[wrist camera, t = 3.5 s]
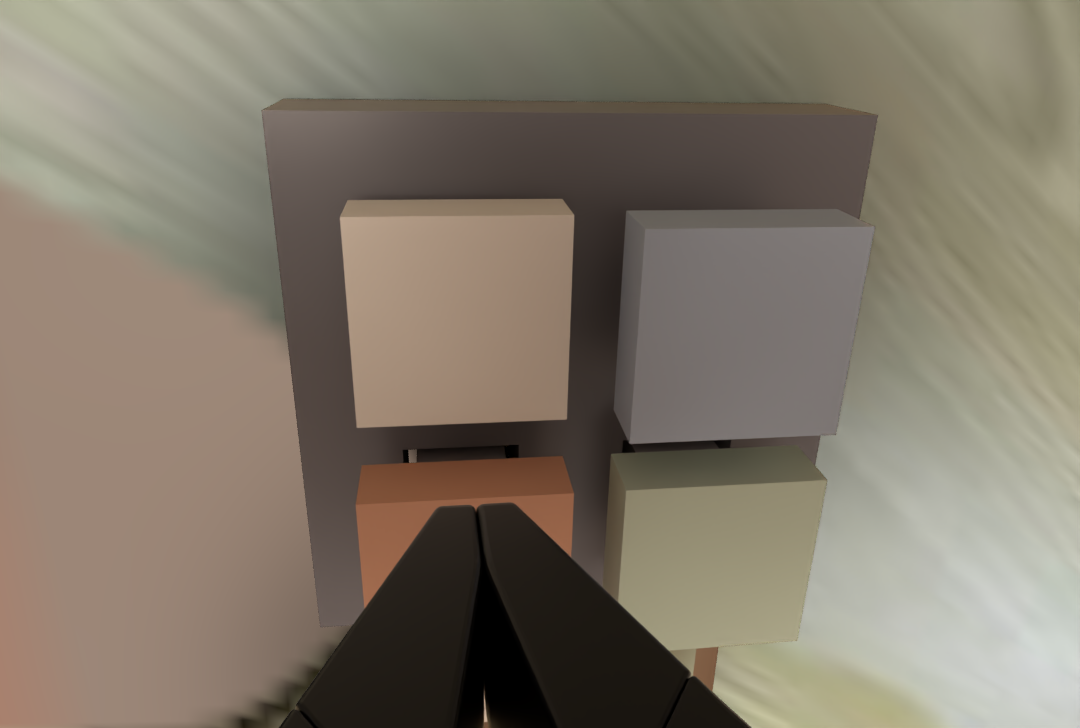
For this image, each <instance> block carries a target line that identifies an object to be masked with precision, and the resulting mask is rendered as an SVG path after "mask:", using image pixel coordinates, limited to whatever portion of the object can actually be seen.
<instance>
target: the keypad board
mask: <svg viewBox="0 0 1080 728" xmlns="http://www.w3.org/2000/svg"><path fill="white" fill-rule="evenodd" d="M262 118H263V127H264V136H265V145H266V154H267V162H268V171H269V180H270V189H271V198H272V206H273V215H274V224H275V233H276V242H277V251H278V259H279V268H280V277H281V286H282V295H283V303H284V312H285V321H286V330H287V339H288V347H289V356H290V365H291V374H292V383H293V392H294V400H295V408H296V418H297V427H298V434H299V435H298V436H299V444H300V452H301V462H302V471H303V479H304V488H305V497H306V506H307V515H308V524H309V532H310V541H311V549H312V559H313V568H314V577H315V585H316V594H317V603H318V612H319V621H320V627H332V626H346V625H353V624H354V623H355V621H356V620H357V618H358V617H359V616H360V614H361V613H362V611H363V610H364V598H363V586H362V574H361V562H360V551H359V539H358V527H357V515H356V499H357V493H358V486H359V480H360V473H361V467H362V465H377V464H399V463H409V456H408V450H410V449H433V448H456V447H478V446H501V445H509V458H529V457H551V456H563V459H564V462H565V465H566V469H567V472H568V475H569V479H570V482H571V485H572V489H573V492H574V503H573V527H572V550H571V557H572V558H573V559H574V560H575V561H576V562H577V563H578V564H579V565H580V566H581V567H582V568H583V569H584V570H585V571H586V572H587V573H588V574H589V575H590V576H591V577H592V578H593V579H595V580H596V581H597V582H598V583H599V584H600V585H601V586H602V587H603V572H604V556H605V540H606V525H607V509H608V493H609V477H610V461H611V454H616V453H622V447H623V440H628V439H627V437H626V435H625V433H624V431H623V429H622V427H621V424H620V422H619V420H618V418H617V416H616V414H615V412H614V397H615V381H616V365H617V349H618V333H619V318H620V302H621V286H622V270H623V254H624V238H625V222H626V211H632V210H761V209H838V210H840V211H842V212H845V213H847V214H849V215H851V216H853V217H855V218H858V219H859V218H860V212H861V207H862V201H863V196H864V190H865V185H866V179H867V174H868V168H869V162H870V157H871V151H872V146H873V140H874V135H875V129H876V123H877V118H878V115H876V114H871V113H866V112H861V111H856V110H852V109H847V108H842V107H837V106H833V105H828V104H796V103H690V102H583V101H477V100H371V99H282V100H280V101H278V102H277V103H275V104H273V105H271V106H269V107H267V108H265V109H263V110H262ZM433 199H563V200H564V202H565V203H566V204H567V206H568V207H569V209H570V210H571V211H572V213H573V214H574V238H573V265H572V292H571V319H570V346H569V373H568V400H567V419H566V420H541V421H517V422H492V423H467V424H442V425H417V426H393V427H368V428H357V425H356V413H355V400H354V388H353V375H352V363H351V350H350V338H349V325H348V313H347V301H346V288H345V276H344V263H343V251H342V238H341V226H340V216H341V213H342V211H343V209H344V207H345V205H346V203H347V201H348V200H433ZM819 440H820V435H819V436H797V437H774V438H752V439H730V440H714V442H715V443H716V445H717V446H718V448H719V449H725V448H747V447H768V446H790V445H797V446H798V447H799V448H800V449H801V450H802V451H803V453H804V454H805V455H806V456H807V457H808V458H809V460H810V461H811V462H812V463H813V464H814V465H815V463H816V457H817V452H818V446H819Z"/></svg>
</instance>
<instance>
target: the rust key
mask: <svg viewBox="0 0 1080 728" xmlns="http://www.w3.org/2000/svg"><path fill="white" fill-rule="evenodd" d="M506 502H511V503H514V504H516V505H517V506H518V507H519V508H520V509H521V510H522V511H523V512H524V513H526V514H527V515H528V516H529V517H530V518H531V519H532V520H533V521H534V522H535V523H536V524H537V525H538V526H539V527H540V528H541V529H542V530H543V531H544V532H545V533H546V534H547V535H549V536H550V537H551V538H552V539H553V540H554V541H555V542H556V543H557V544H558V545H559V546H560V547H561V548H562V549H563V550H564V551H565V552H566V553H567V554H568V555H569V556H570V557H571V550H572V527H573V503H574V492H573V489H572V485H571V482H570V479H569V475H568V472H567V469H566V465H565V462H564V459H563V456H551V457H529V458H508V459H506V455H505V449H504V445H501V446H478V447H456V448H433V449H417V463H399V464H377V465H362V467H361V473H360V480H359V486H358V493H357V499H356V515H357V527H358V539H359V551H360V562H361V574H362V586H363V598H364V609H365V607H366V606H367V604H368V603H369V602H370V600H371V599H372V597H373V596H374V595H375V593H376V592H377V590H378V589H379V588H380V586H381V585H382V583H383V582H384V581H385V579H386V578H387V576H388V575H389V574H390V572H391V571H392V569H393V568H394V567H395V565H396V564H397V562H398V561H399V560H400V558H401V557H402V555H403V554H404V553H405V551H406V550H407V549H408V547H409V546H410V544H411V543H412V542H413V540H414V539H415V537H416V536H417V535H418V533H419V532H420V530H421V529H422V528H423V526H424V525H425V523H426V522H427V521H428V519H429V518H430V516H431V515H432V513H433V512H434V511H435V509H436V508H438V507H440V506H452V505H472V506H473V507H474V508H475V509H476V510H477V507H478V506H479V505H481V504H489V503H506Z"/></svg>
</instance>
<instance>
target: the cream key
mask: <svg viewBox="0 0 1080 728" xmlns="http://www.w3.org/2000/svg"><path fill="white" fill-rule="evenodd" d="M340 226H341V238H342V251H343V263H344V276H345V288H346V301H347V313H348V325H349V338H350V350H351V363H352V375H353V388H354V400H355V413H356V425H357V428H368V427H393V426H417V425H442V424H467V423H492V422H517V421H541V420H566V419H567V400H568V373H569V346H570V319H571V292H572V265H573V238H574V214H573V213H572V211H571V210H570V209H569V207H568V206H567V204H566V203H565V202H564V200H563V199H433V200H348V201H347V203H346V205H345V207H344V209H343V211H342V213H341V216H340Z"/></svg>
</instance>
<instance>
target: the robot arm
mask: <svg viewBox="0 0 1080 728" xmlns="http://www.w3.org/2000/svg"><path fill="white" fill-rule="evenodd" d="M484 696H485V706H486V716H487V722H488V728H751V727H750V726H749V725H748V724H747V723H746V722H745V721H744V720H743V719H741V718H740V717H739V716H738V715H737V714H736V713H735V712H734V711H733V710H731V709H730V708H729V707H728V706H727V705H726V704H725V703H724V702H723V701H722V700H720V699H719V698H718V697H717V696H716V695H715V694H714V693H713V692H712V691H711V690H710V689H709V688H708V687H707V686H706V685H705V684H704V683H703V682H702V681H701V680H700V679H698V678H697V677H696V676H692V677H691V672H690V670H689V669H688V668H687V667H685V666H684V665H683V664H682V663H681V662H680V661H679V660H678V659H677V658H676V657H675V656H674V655H673V654H672V653H671V652H670V651H669V650H668V649H667V648H666V647H665V646H664V645H662V644H661V643H660V642H659V641H658V640H657V639H656V638H655V637H654V636H653V635H652V634H651V633H650V632H649V631H648V630H647V629H646V628H645V627H644V626H643V625H642V624H641V623H639V622H638V621H637V620H636V619H635V618H634V617H633V616H632V615H631V614H630V613H629V612H628V611H627V610H626V609H625V608H624V607H623V606H622V605H621V604H620V603H619V602H618V601H616V600H615V599H614V598H613V597H612V596H611V595H610V594H609V593H608V592H607V591H606V590H605V589H604V588H603V587H602V586H601V585H600V584H599V583H598V582H597V581H596V580H595V579H593V578H592V577H591V576H590V575H589V574H588V573H587V572H586V571H585V570H584V569H583V568H582V567H581V566H580V565H579V564H578V563H577V562H576V561H575V560H574V559H573V558H572V557H570V556H569V555H568V554H567V553H566V552H565V551H564V550H563V549H562V548H561V547H560V546H559V545H558V544H557V543H556V542H555V541H554V540H553V539H552V538H551V537H550V536H549V535H547V534H546V533H545V532H544V531H543V530H542V529H541V528H540V527H539V526H538V525H537V524H536V523H535V522H534V521H533V520H532V519H531V518H530V517H529V516H528V515H527V514H526V513H524V512H523V511H522V510H521V509H520V508H519V507H518V506H517V505H516V504H514V503H511V502H506V503H489V504H481V505H479V506H478V507H477V510H476V509H475V508H474V507H473V506H472V505H452V506H440V507H438V508H436V509H435V511H434V512H433V513H432V515H431V516H430V518H429V519H428V521H427V522H426V523H425V525H424V526H423V528H422V529H421V530H420V532H419V533H418V535H417V536H416V537H415V539H414V540H413V542H412V543H411V544H410V546H409V547H408V549H407V550H406V551H405V553H404V554H403V555H402V557H401V558H400V560H399V561H398V562H397V564H396V565H395V567H394V568H393V569H392V571H391V572H390V574H389V575H388V576H387V578H386V579H385V581H384V582H383V583H382V585H381V586H380V588H379V589H378V590H377V592H376V593H375V595H374V596H373V597H372V599H371V600H370V602H369V603H368V604H367V606H366V607H365V609H364V610H363V611H362V613H361V614H360V616H359V617H358V618H357V620H356V621H355V623H354V624H353V625H352V627H351V628H350V630H349V631H348V632H347V634H346V635H345V637H344V638H343V639H342V641H341V642H340V644H339V645H338V646H337V648H336V649H335V651H334V652H333V653H332V655H331V656H330V658H329V659H328V660H327V662H326V663H325V665H324V666H323V667H322V669H321V670H320V672H319V673H318V674H317V676H316V677H315V679H314V680H313V681H312V683H311V684H310V686H309V687H308V688H307V690H306V691H305V693H304V694H303V695H302V697H301V698H300V700H299V701H298V702H297V704H296V706H295V710H292V711H291V712H290V713H289V714H288V716H287V717H286V718H285V720H284V721H283V723H282V724H281V726H280V727H279V728H484Z"/></svg>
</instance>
